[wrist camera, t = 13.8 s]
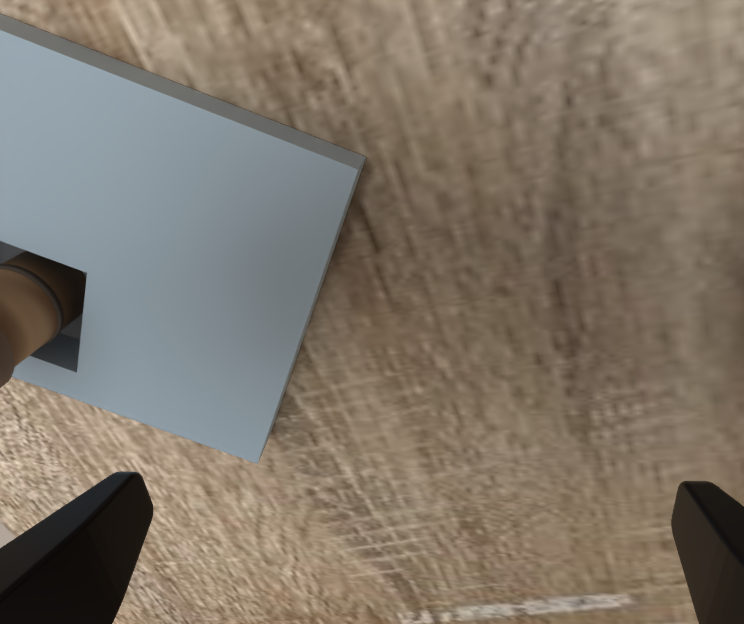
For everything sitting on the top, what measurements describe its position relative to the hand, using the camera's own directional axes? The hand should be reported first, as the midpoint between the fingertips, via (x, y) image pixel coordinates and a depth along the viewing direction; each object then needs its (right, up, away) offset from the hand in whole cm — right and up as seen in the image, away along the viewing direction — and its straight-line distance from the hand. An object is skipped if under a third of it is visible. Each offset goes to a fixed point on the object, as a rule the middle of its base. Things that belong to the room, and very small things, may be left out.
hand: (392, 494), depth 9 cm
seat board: (-10, +6, +13) cm, 18 cm away
